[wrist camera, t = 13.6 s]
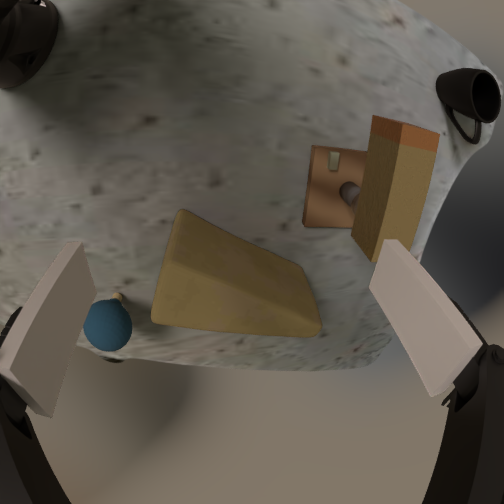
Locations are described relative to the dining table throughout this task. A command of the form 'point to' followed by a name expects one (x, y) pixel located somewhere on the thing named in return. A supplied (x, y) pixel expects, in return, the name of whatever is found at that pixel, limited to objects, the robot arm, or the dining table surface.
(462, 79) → the mug
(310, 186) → the wooden base plate
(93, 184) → the dining table surface
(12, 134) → the dining table surface
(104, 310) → the light bulb
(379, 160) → the two-tone wooden block
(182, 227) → the cheese
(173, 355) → the dining table surface
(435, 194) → the dining table surface
